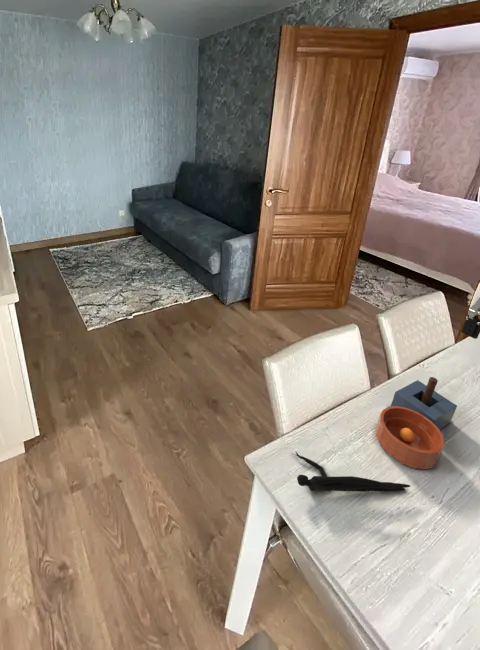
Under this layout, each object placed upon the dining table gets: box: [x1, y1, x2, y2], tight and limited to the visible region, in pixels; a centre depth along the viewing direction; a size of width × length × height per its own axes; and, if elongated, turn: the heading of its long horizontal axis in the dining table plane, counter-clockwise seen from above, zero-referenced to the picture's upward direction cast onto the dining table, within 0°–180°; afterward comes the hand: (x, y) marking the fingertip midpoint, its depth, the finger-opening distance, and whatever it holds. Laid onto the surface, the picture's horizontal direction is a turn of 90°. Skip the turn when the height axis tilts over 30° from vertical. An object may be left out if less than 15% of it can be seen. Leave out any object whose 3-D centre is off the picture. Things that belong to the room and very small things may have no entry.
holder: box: [390, 379, 458, 430], centre depth 95 cm, size 10×10×6 cm
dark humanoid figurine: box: [294, 451, 411, 493], centre depth 79 cm, size 8×9×25 cm
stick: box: [421, 376, 439, 406], centre depth 94 cm, size 2×2×13 cm
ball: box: [400, 428, 415, 442], centre depth 88 cm, size 3×3×3 cm
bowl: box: [375, 405, 445, 470], centre depth 87 cm, size 13×13×6 cm
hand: (479, 330), depth 86 cm, fingers open, 9 cm apart
